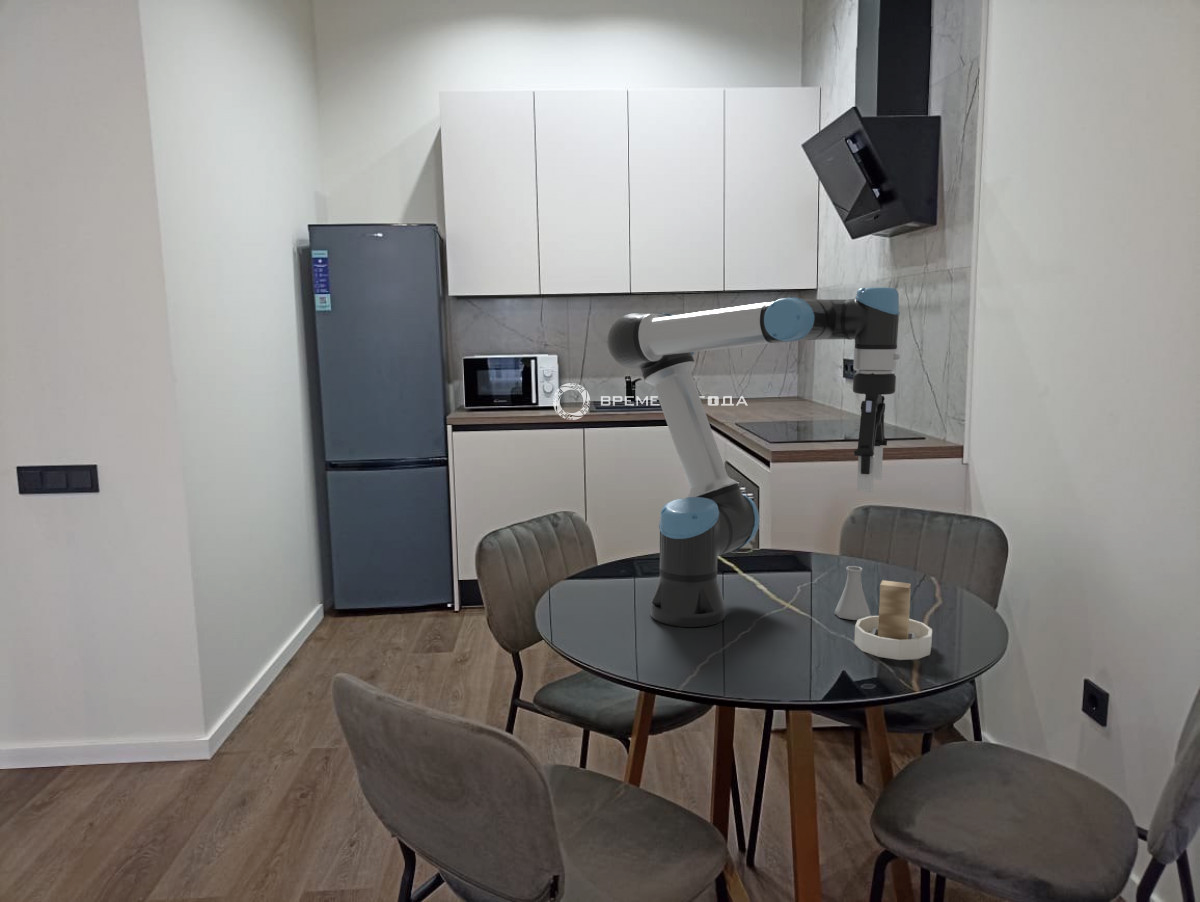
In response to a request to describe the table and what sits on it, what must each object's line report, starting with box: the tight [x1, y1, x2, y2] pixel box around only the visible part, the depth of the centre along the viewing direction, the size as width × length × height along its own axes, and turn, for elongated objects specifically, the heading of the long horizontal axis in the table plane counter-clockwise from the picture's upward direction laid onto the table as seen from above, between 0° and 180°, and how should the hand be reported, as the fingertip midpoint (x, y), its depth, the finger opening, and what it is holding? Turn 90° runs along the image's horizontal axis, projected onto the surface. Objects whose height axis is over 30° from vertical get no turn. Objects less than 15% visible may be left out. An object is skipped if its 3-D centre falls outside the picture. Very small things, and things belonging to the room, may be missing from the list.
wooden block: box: [878, 579, 912, 640], centre depth 159 cm, size 5×3×11 cm, turn 65°
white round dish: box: [853, 615, 933, 661], centre depth 160 cm, size 13×13×4 cm
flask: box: [834, 565, 872, 621], centre depth 176 cm, size 7×7×10 cm
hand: (869, 485), depth 164 cm, fingers open, 13 cm apart
